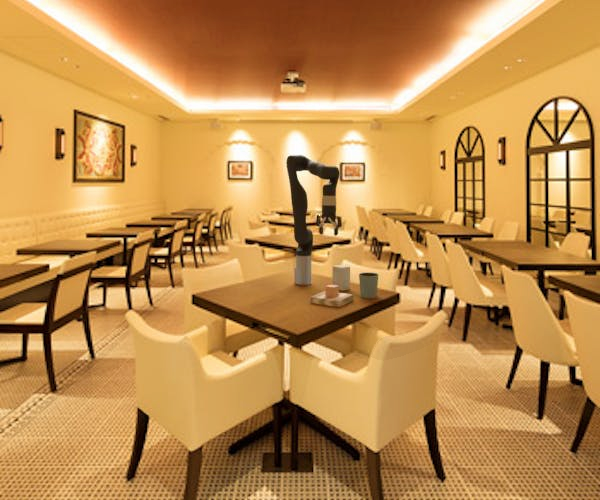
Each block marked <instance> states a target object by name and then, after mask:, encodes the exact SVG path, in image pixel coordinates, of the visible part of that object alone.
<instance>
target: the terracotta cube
mask: <svg viewBox="0 0 600 500" xmlns="http://www.w3.org/2000/svg"><path fill="white" fill-rule="evenodd" d="M324 291H325V296H328V297H336V296H338V295H339V293H340V290H339V286H337V285H333V284H328V285H325V290H324Z"/></svg>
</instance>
